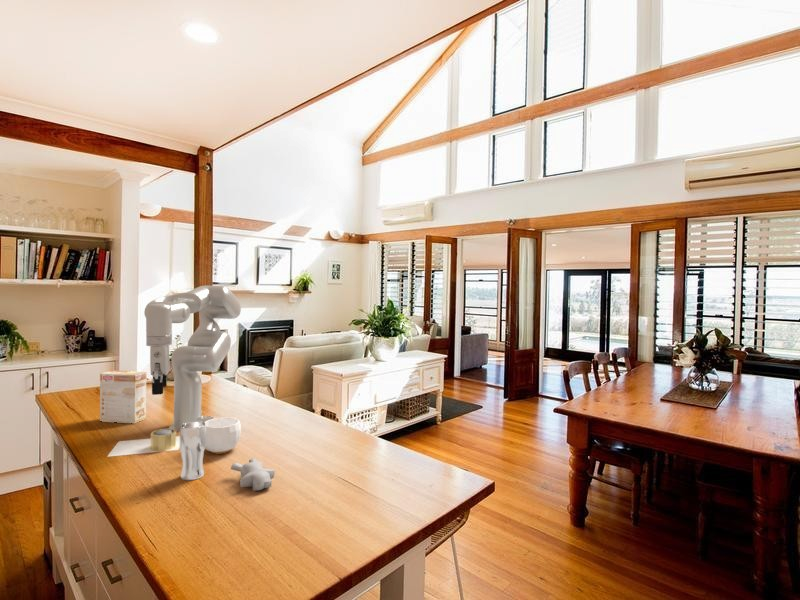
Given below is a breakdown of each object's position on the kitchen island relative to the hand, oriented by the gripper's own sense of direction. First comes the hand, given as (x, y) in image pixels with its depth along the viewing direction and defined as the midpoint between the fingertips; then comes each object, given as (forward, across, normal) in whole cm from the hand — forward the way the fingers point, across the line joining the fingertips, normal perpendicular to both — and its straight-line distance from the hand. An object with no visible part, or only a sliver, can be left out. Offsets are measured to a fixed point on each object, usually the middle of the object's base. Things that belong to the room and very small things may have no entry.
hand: (159, 390), depth 145 cm
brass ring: (+18, -4, -2) cm, 19 cm away
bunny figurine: (+19, -39, -28) cm, 51 cm away
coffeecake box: (+20, +35, +17) cm, 44 cm away
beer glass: (+19, -29, -12) cm, 36 cm away
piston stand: (+19, -1, +3) cm, 19 cm away
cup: (+19, -11, -19) cm, 30 cm away
